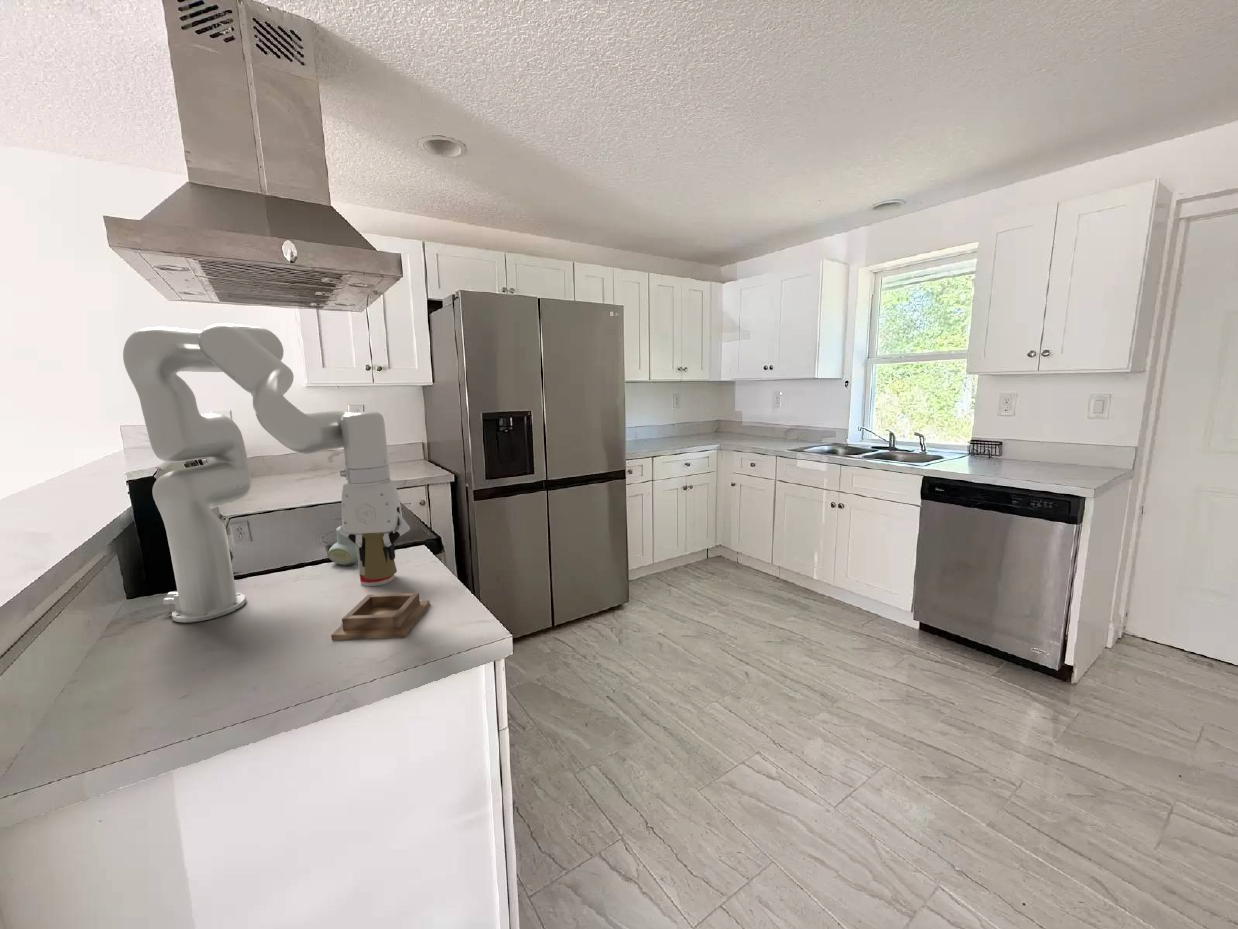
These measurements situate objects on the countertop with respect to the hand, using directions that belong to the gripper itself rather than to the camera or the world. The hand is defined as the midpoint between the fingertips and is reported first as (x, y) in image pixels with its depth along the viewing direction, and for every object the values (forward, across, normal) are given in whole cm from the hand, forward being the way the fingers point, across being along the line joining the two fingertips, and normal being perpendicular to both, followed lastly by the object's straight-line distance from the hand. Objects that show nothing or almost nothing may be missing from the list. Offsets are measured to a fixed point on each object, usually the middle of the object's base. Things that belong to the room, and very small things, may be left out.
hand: (378, 563), depth 100 cm
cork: (+2, 0, 0) cm, 2 cm away
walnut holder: (+13, 0, 0) cm, 13 cm away
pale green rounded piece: (+13, -24, +36) cm, 45 cm away
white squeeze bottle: (+13, -11, +22) cm, 28 cm away
